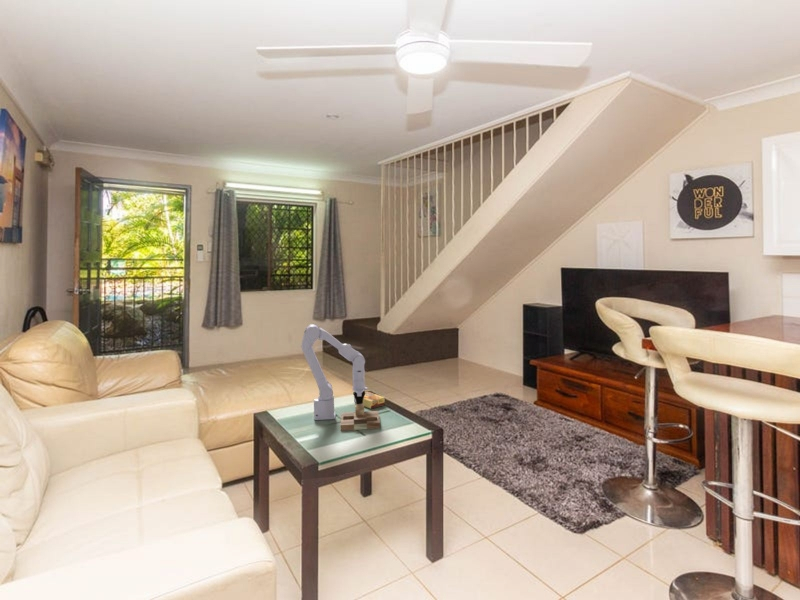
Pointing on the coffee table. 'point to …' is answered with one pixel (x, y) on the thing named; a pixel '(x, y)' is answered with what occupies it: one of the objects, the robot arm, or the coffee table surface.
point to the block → (359, 409)
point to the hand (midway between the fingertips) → (359, 406)
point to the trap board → (360, 420)
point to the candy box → (372, 400)
